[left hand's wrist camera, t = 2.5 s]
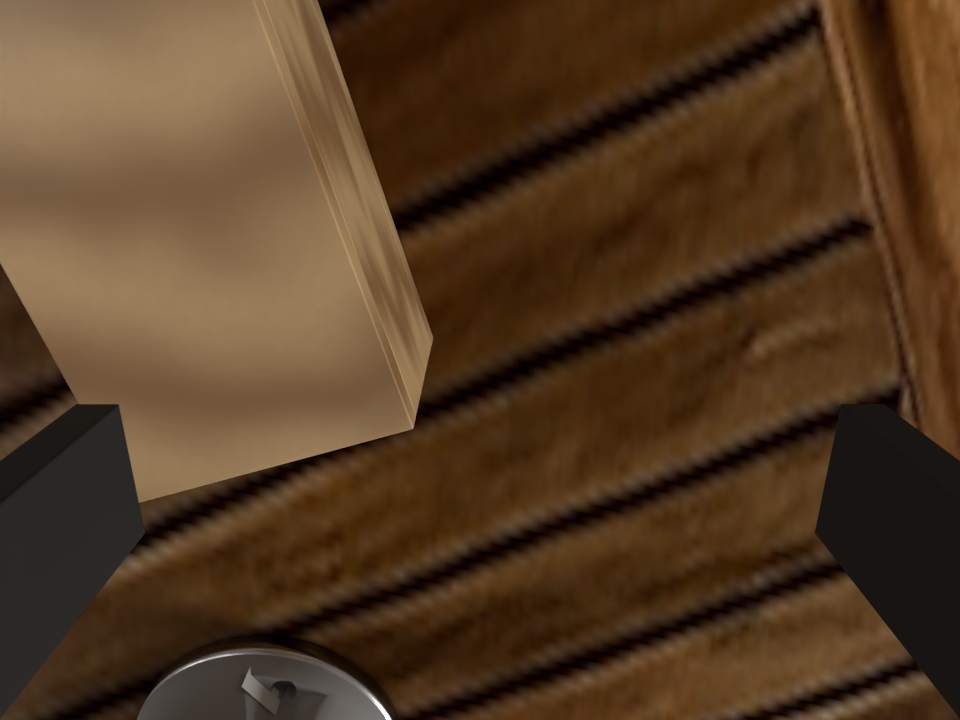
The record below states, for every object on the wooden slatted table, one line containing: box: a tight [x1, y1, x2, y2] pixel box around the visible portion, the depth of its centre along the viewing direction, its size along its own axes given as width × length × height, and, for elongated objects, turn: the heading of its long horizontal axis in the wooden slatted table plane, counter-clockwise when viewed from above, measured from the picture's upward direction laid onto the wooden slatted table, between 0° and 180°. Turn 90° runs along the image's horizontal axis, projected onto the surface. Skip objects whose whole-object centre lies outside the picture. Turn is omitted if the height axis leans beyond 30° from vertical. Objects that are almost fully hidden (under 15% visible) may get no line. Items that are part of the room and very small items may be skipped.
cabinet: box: [0, 0, 433, 503], centre depth 24 cm, size 21×10×9 cm, turn 17°
